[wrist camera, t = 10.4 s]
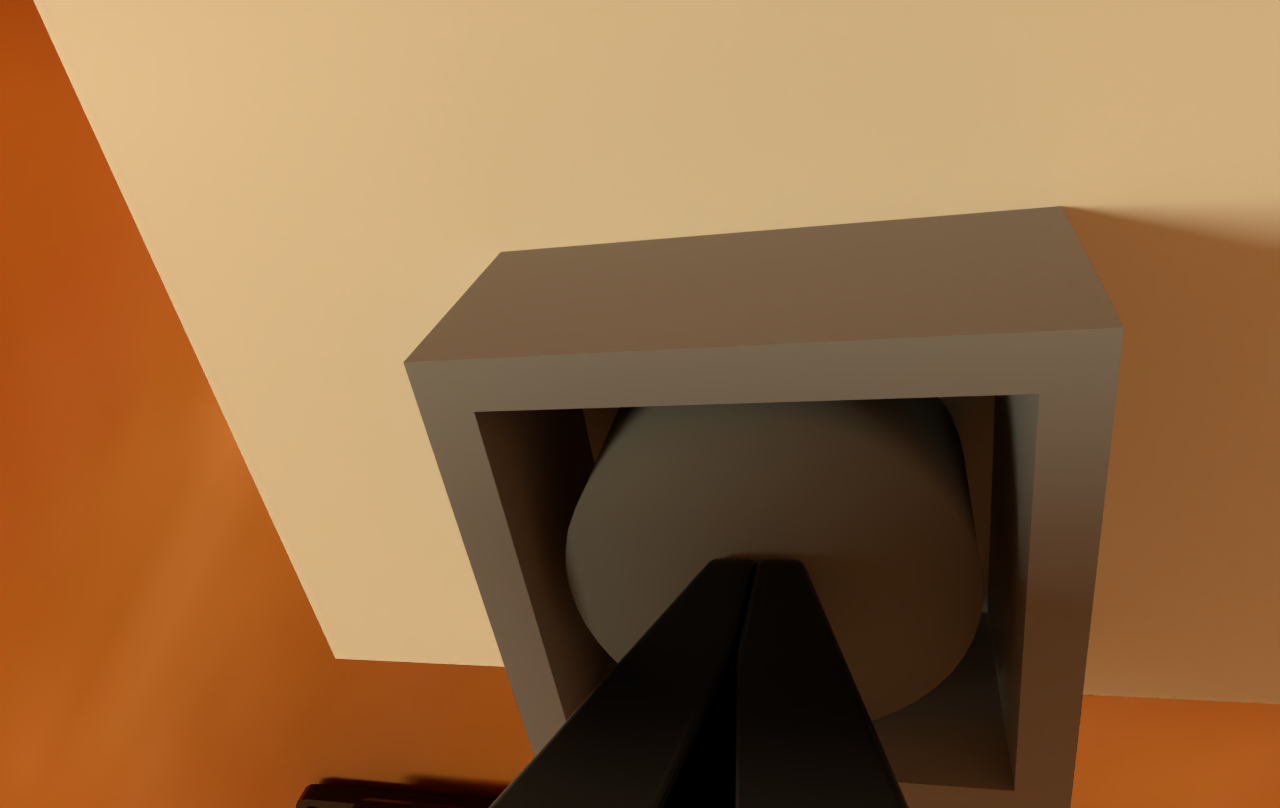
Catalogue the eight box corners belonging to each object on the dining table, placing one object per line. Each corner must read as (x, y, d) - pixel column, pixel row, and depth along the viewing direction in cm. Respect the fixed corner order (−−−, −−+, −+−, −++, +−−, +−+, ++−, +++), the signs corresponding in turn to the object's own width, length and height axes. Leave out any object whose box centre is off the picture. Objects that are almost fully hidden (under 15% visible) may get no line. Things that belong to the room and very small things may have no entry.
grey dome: (963, 611, 10) (978, 743, 9) (640, 602, 11) (604, 719, 10) (968, 308, 8) (988, 409, 7) (580, 329, 9) (525, 423, 8)
